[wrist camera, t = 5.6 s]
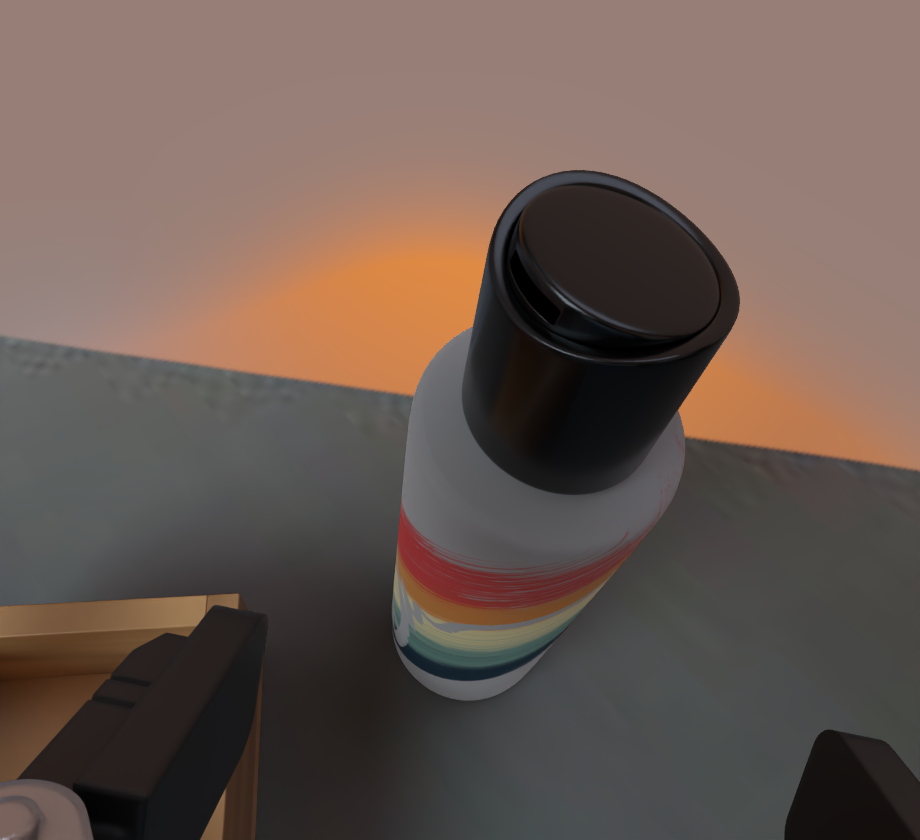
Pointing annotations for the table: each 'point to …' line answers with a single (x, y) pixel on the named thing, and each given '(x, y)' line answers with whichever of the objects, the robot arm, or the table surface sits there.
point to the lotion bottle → (550, 425)
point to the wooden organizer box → (101, 681)
